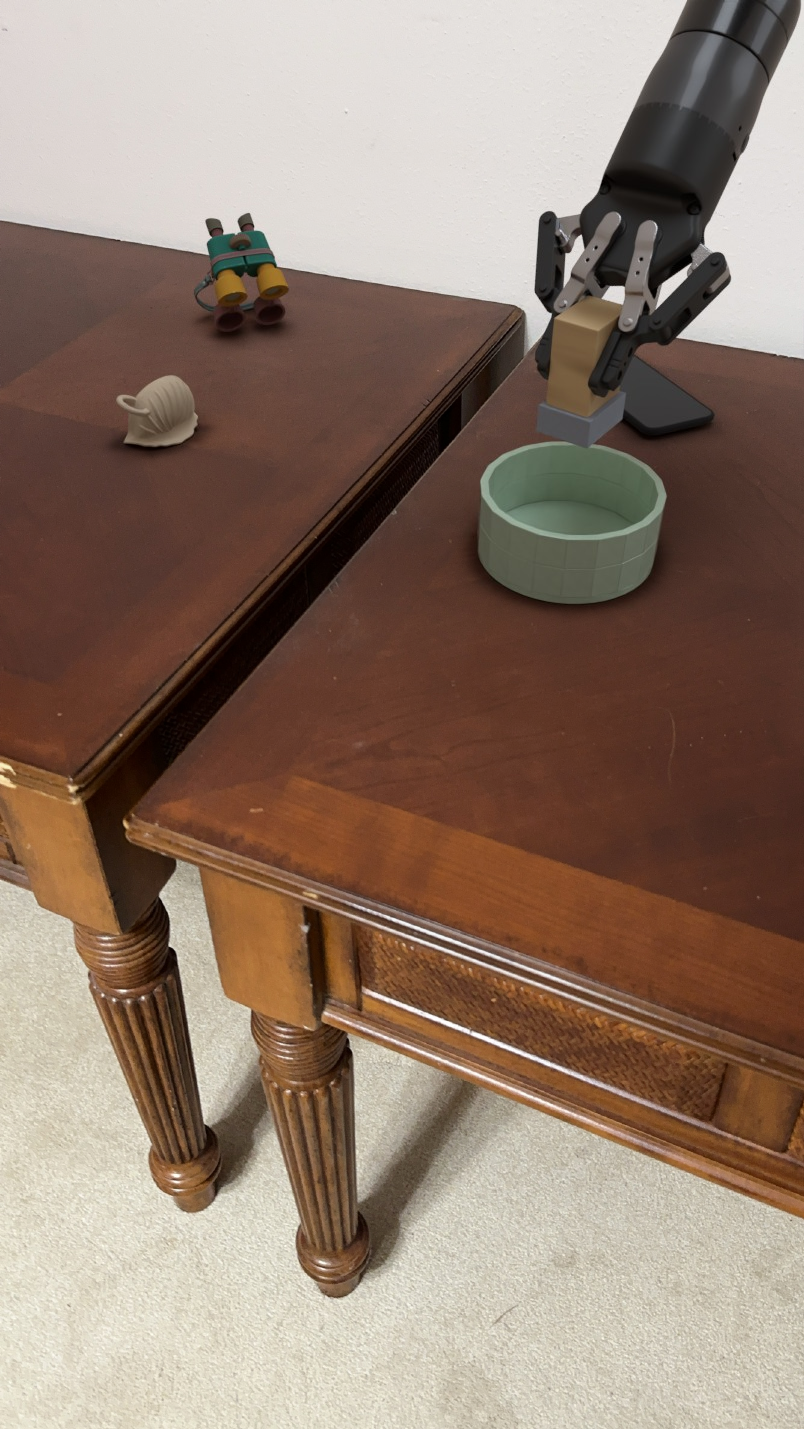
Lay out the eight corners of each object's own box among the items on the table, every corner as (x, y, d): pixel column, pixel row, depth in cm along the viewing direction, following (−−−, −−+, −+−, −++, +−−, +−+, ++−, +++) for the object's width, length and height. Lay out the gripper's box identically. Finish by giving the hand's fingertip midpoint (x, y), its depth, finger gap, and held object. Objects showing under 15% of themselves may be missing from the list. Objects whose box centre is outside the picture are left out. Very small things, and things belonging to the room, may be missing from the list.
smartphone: (628, 347, 106) (720, 414, 96) (627, 357, 107) (718, 424, 97) (561, 361, 104) (648, 431, 94) (560, 371, 105) (646, 441, 94)
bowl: (666, 519, 86) (678, 457, 82) (638, 619, 77) (649, 554, 73) (502, 491, 89) (506, 429, 85) (456, 584, 80) (458, 519, 76)
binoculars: (205, 351, 113) (208, 289, 103) (180, 275, 114) (181, 207, 105) (292, 336, 115) (303, 274, 106) (266, 262, 117) (275, 194, 107)
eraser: (572, 402, 78) (585, 291, 73) (622, 419, 76) (639, 306, 71) (535, 431, 75) (545, 317, 70) (586, 449, 74) (601, 333, 68)
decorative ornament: (212, 427, 97) (205, 369, 93) (139, 464, 92) (128, 405, 89) (181, 412, 99) (173, 355, 95) (108, 449, 94) (96, 390, 90)
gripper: (573, 80, 70) (459, 331, 72) (783, 118, 64) (655, 392, 66) (603, 148, 77) (499, 377, 78) (796, 188, 71) (679, 436, 72)
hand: (571, 382), depth 72 cm, fingers closed on eraser, 3 cm apart
